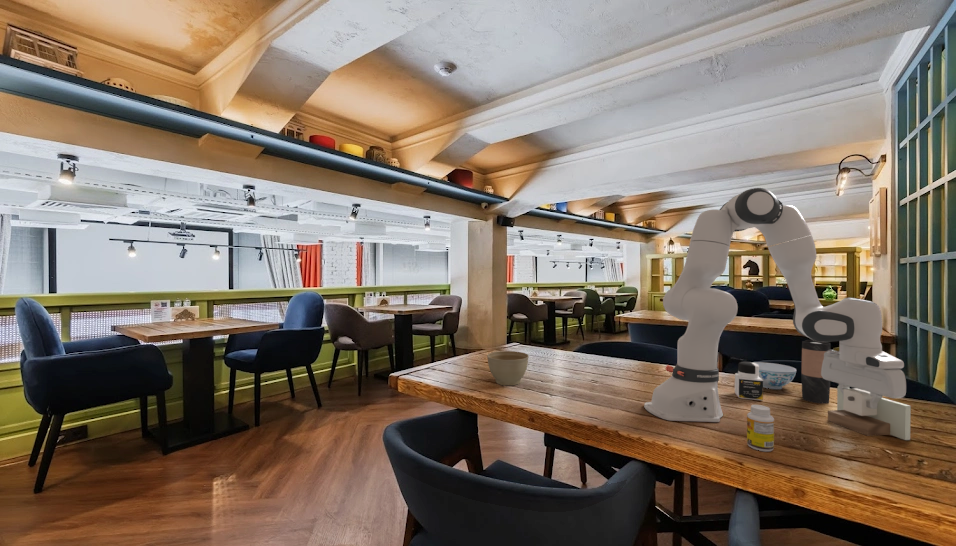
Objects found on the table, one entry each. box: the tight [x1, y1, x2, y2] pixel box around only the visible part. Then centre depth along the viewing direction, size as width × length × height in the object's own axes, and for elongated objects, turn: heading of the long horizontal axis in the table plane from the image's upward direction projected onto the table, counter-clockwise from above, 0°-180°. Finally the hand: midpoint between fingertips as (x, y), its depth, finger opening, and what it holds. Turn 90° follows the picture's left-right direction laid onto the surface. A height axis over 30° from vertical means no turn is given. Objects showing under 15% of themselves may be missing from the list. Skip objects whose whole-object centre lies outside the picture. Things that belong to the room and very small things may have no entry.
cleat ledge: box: [827, 409, 891, 437], centre depth 115 cm, size 7×11×3 cm, turn 7°
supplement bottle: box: [746, 404, 775, 452], centre depth 102 cm, size 6×6×10 cm
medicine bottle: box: [734, 361, 764, 401], centre depth 143 cm, size 7×7×12 cm
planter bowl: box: [486, 350, 530, 387], centre depth 159 cm, size 16×16×11 cm
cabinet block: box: [843, 387, 878, 416], centre depth 115 cm, size 6×5×6 cm
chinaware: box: [753, 361, 797, 390], centre depth 155 cm, size 15×15×8 cm
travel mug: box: [801, 339, 831, 404], centre depth 139 cm, size 8×8×20 cm
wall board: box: [836, 385, 912, 441], centre depth 116 cm, size 2×18×9 cm, turn 7°
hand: (859, 404), depth 115 cm, fingers closed on cabinet block, 5 cm apart
